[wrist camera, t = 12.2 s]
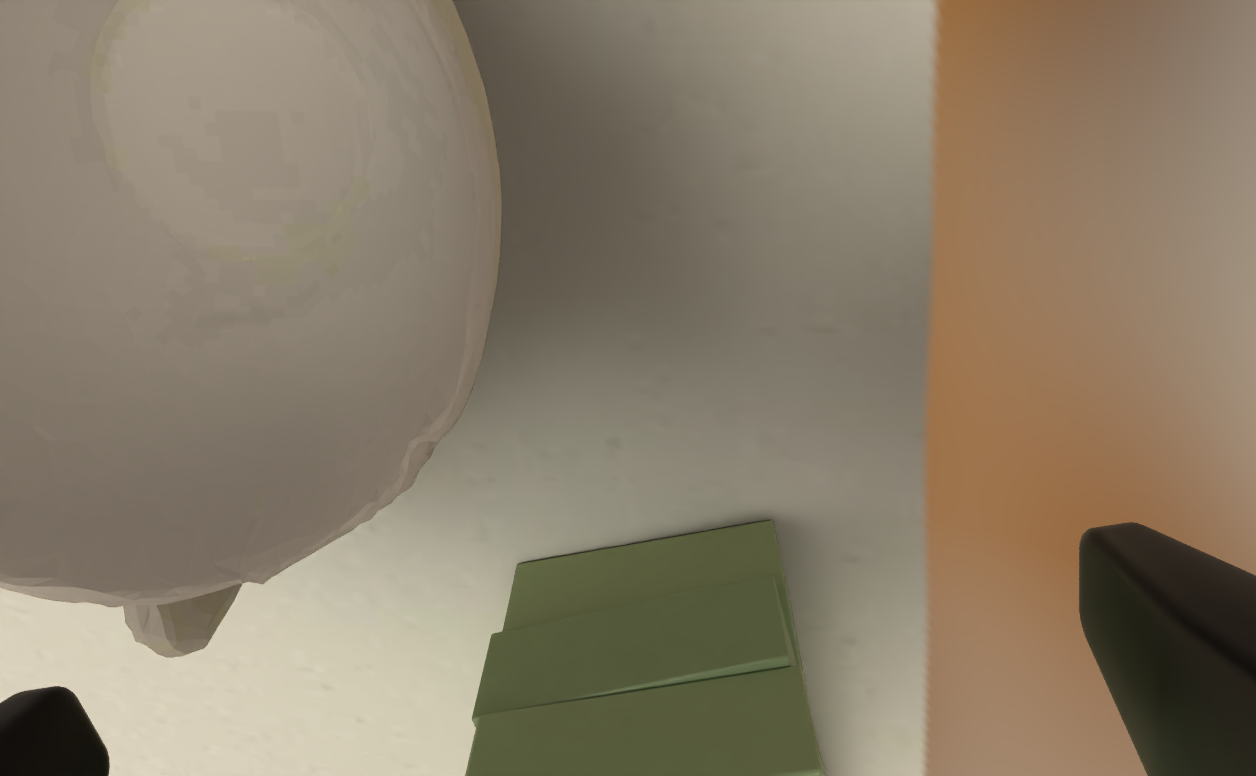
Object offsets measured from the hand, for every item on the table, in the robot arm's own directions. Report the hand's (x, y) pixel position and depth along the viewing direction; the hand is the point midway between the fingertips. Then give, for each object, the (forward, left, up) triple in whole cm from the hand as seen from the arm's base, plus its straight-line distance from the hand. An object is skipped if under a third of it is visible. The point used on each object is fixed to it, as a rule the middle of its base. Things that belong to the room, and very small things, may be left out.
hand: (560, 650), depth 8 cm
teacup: (-7, +3, -13) cm, 15 cm away
